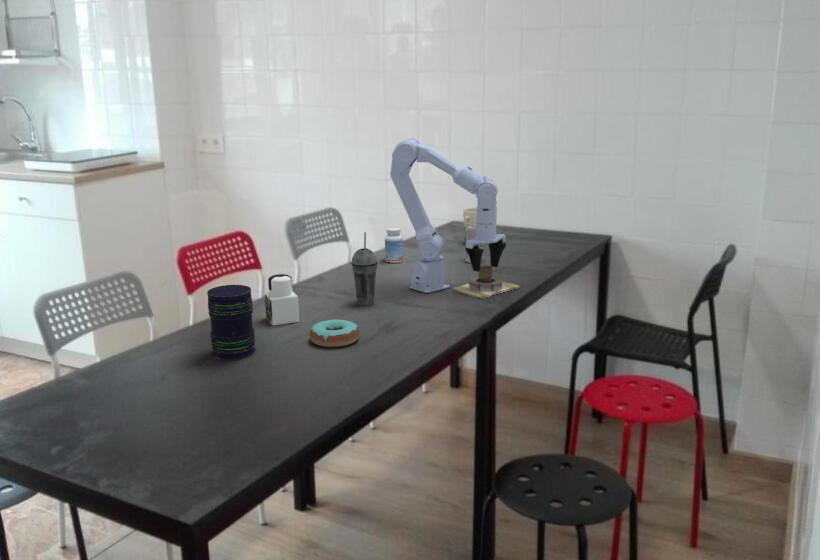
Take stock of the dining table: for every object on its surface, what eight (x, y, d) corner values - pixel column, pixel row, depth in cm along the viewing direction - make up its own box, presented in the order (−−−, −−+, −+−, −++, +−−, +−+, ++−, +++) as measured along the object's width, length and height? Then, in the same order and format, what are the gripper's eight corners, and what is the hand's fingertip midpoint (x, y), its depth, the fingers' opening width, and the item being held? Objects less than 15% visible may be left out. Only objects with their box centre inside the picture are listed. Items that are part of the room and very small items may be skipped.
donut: (348, 330, 190) (347, 314, 189) (367, 344, 180) (367, 328, 179) (302, 338, 185) (302, 322, 184) (320, 353, 175) (319, 336, 174)
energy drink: (481, 259, 258) (481, 225, 255) (481, 263, 253) (481, 228, 250) (465, 259, 259) (466, 225, 256) (465, 263, 254) (465, 228, 251)
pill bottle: (403, 263, 255) (402, 230, 252) (384, 263, 255) (384, 230, 252) (403, 259, 261) (402, 227, 258) (385, 259, 261) (385, 227, 258)
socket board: (481, 299, 213) (481, 289, 213) (451, 290, 222) (451, 281, 222) (519, 288, 224) (519, 279, 223) (489, 280, 232) (489, 271, 232)
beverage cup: (348, 305, 209) (345, 234, 204) (358, 298, 216) (356, 229, 211) (372, 308, 207) (370, 236, 202) (382, 300, 213) (380, 230, 208)
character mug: (472, 240, 288) (472, 206, 285) (488, 242, 284) (489, 208, 281) (456, 246, 280) (456, 211, 276) (473, 248, 276) (473, 212, 272)
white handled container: (265, 318, 200) (262, 274, 197) (292, 314, 202) (289, 271, 199) (272, 326, 193) (269, 280, 190) (299, 322, 196) (297, 277, 193)
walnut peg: (484, 289, 220) (484, 269, 219) (475, 286, 223) (475, 266, 222) (494, 287, 222) (495, 267, 221) (486, 284, 225) (486, 264, 224)
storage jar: (215, 363, 169) (210, 298, 165) (208, 349, 178) (203, 287, 174) (260, 356, 173) (255, 293, 169) (251, 343, 181) (246, 282, 177)
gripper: (478, 228, 210) (477, 275, 214) (513, 221, 219) (512, 267, 223) (460, 224, 215) (460, 270, 219) (495, 218, 224) (494, 262, 228)
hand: (485, 268), depth 221 cm, fingers open, 7 cm apart
